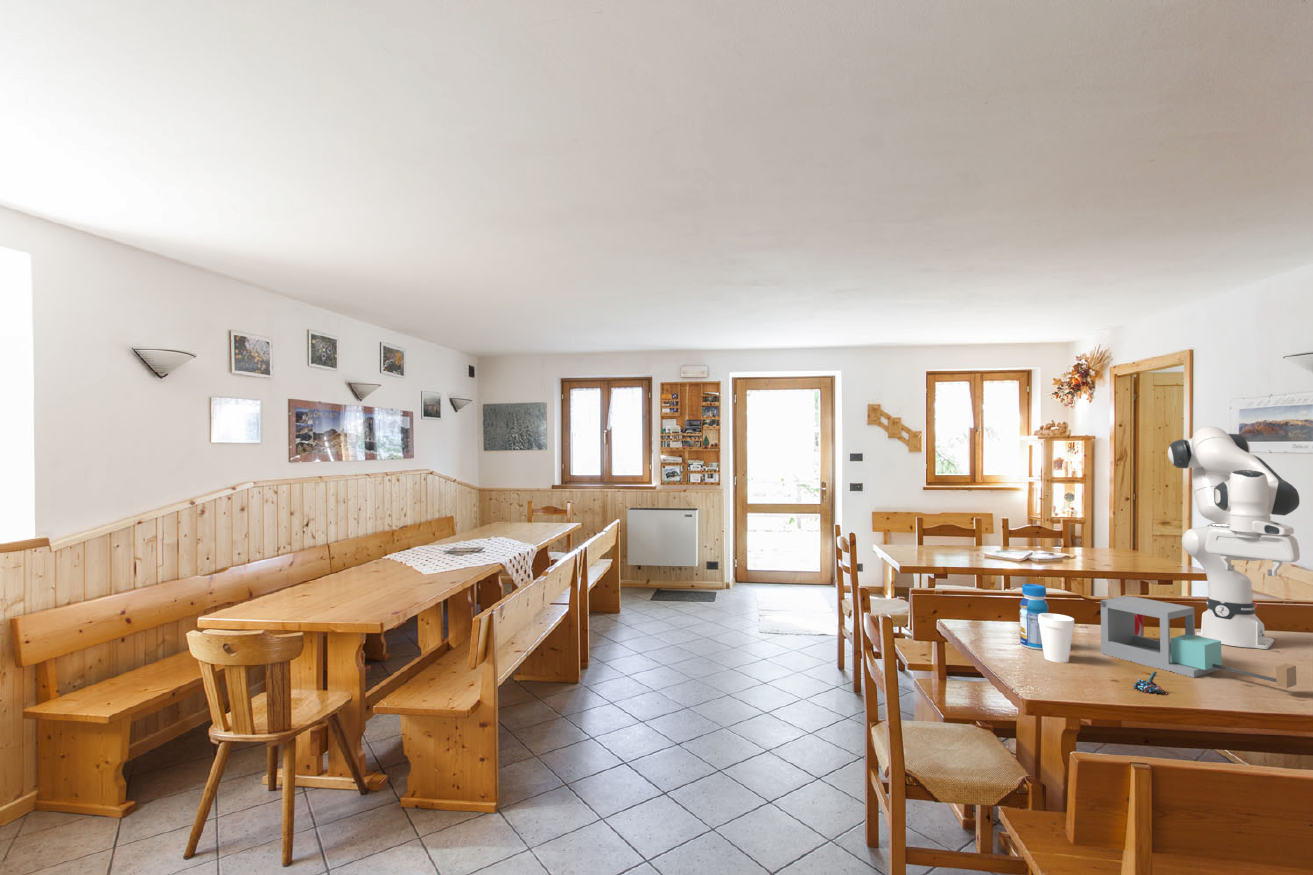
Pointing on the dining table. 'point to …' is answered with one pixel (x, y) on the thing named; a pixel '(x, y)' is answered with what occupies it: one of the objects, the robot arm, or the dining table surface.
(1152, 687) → the blue bumpy stemmed lump
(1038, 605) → the beverage bottle
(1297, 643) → the dining table surface
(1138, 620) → the soda can
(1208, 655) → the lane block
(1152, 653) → the shelf lane
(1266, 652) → the dining table surface
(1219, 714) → the dining table surface
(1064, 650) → the foam cup
